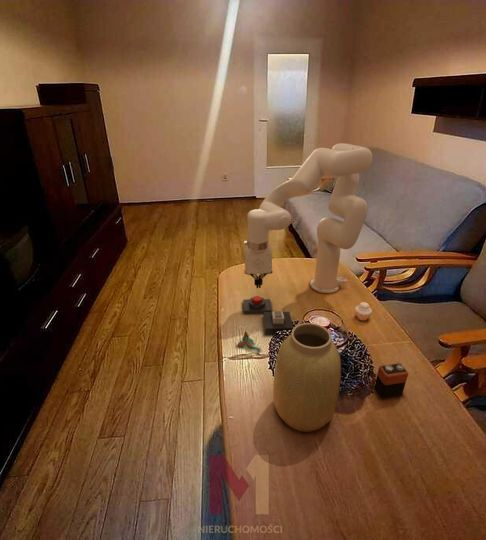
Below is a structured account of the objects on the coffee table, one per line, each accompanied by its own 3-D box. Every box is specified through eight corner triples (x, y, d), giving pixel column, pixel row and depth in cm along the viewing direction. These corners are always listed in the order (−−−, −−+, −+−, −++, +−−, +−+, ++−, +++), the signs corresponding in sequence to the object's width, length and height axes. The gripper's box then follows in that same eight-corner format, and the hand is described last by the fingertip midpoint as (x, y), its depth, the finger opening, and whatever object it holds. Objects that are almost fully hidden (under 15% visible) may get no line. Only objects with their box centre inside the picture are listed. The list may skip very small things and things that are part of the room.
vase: (303, 451, 86) (312, 371, 73) (259, 405, 99) (261, 330, 86) (348, 416, 95) (363, 339, 82) (303, 378, 107) (310, 306, 94)
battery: (373, 387, 104) (379, 362, 99) (394, 384, 105) (401, 359, 100) (380, 399, 100) (387, 374, 95) (402, 396, 101) (410, 370, 96)
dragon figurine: (267, 339, 122) (248, 327, 123) (263, 346, 115) (243, 333, 116) (258, 354, 123) (239, 342, 125) (254, 361, 116) (234, 348, 118)
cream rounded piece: (355, 322, 131) (358, 307, 128) (351, 313, 137) (354, 298, 133) (372, 323, 131) (375, 307, 128) (367, 313, 136) (370, 298, 133)
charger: (282, 322, 132) (282, 310, 129) (283, 329, 128) (284, 316, 126) (271, 323, 132) (272, 310, 129) (272, 329, 128) (273, 317, 126)
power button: (261, 299, 141) (261, 295, 140) (261, 304, 138) (262, 300, 137) (252, 299, 141) (252, 295, 140) (252, 304, 138) (252, 300, 137)
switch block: (269, 302, 144) (270, 295, 142) (271, 313, 137) (271, 306, 135) (243, 302, 144) (243, 295, 142) (243, 314, 137) (243, 306, 135)
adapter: (289, 317, 135) (289, 311, 133) (292, 334, 126) (293, 327, 124) (263, 318, 135) (263, 312, 133) (265, 335, 126) (265, 328, 124)
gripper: (237, 249, 124) (239, 292, 133) (279, 247, 124) (278, 290, 133) (237, 240, 130) (239, 282, 139) (277, 238, 130) (276, 280, 139)
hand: (258, 286), depth 136 cm, fingers closed
